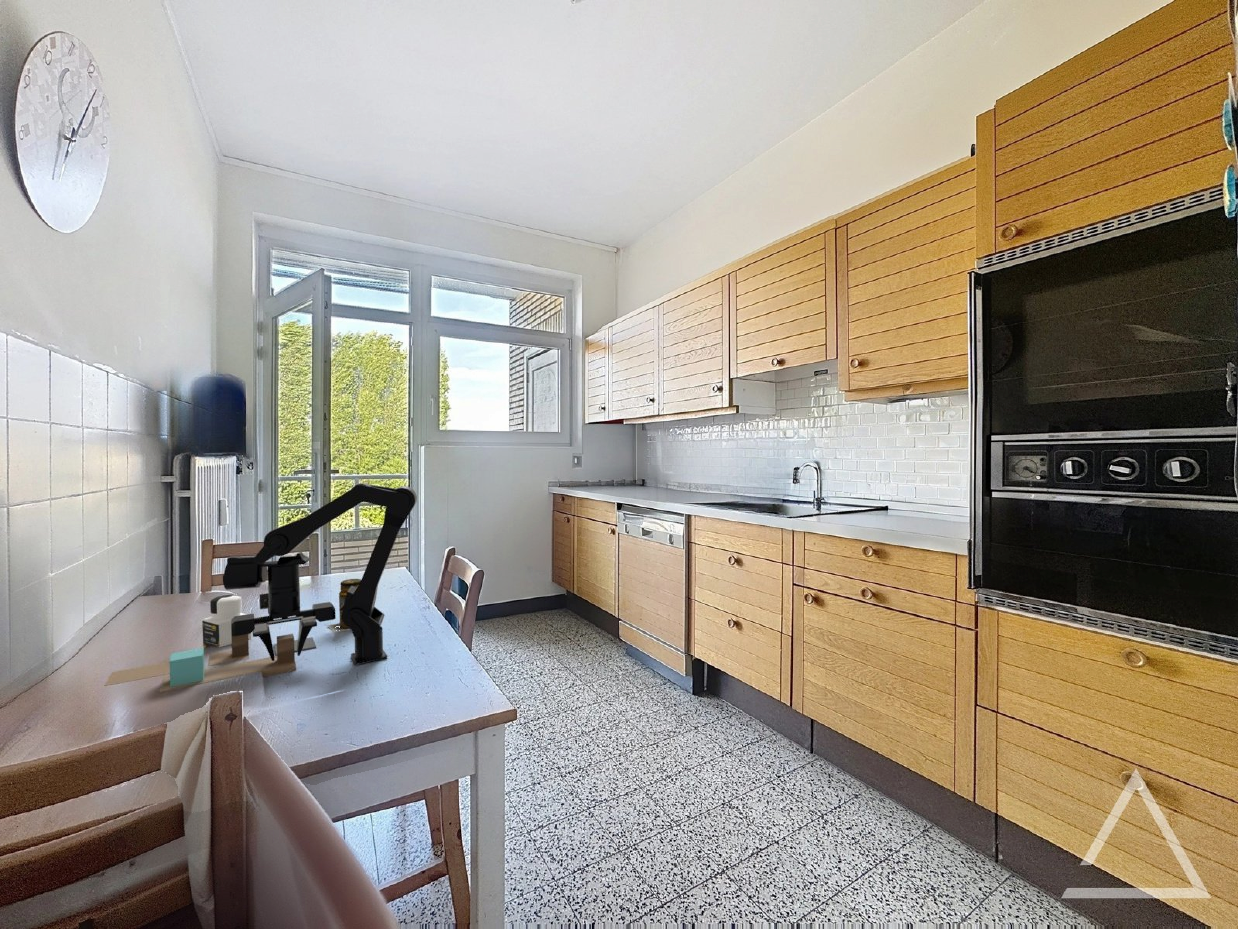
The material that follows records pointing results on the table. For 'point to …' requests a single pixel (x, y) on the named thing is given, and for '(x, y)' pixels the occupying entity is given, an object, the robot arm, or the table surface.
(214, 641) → the medicine bottle
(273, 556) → the robot arm
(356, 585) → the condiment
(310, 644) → the coaster
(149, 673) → the board
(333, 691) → the table surface
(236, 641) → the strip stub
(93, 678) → the table surface
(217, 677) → the strip
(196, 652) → the cube
